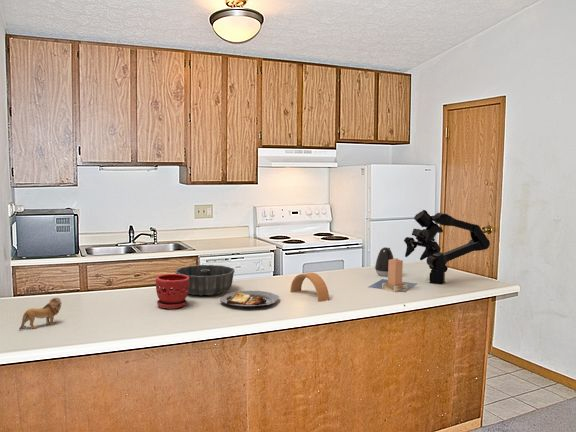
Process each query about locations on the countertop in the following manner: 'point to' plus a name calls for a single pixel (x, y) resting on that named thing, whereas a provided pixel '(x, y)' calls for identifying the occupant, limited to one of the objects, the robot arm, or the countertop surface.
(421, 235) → the robot arm
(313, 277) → the arch
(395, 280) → the terracotta column
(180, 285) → the plant pot
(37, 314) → the lion figurine
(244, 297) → the food plate
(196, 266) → the bundt pan
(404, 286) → the maple socket block
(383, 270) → the black tapered dome
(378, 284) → the board
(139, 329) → the countertop surface
